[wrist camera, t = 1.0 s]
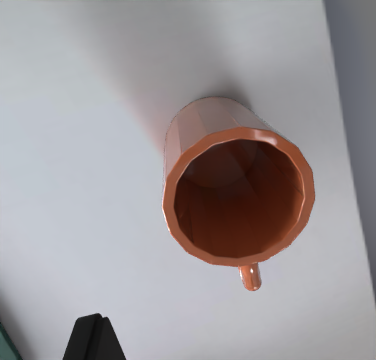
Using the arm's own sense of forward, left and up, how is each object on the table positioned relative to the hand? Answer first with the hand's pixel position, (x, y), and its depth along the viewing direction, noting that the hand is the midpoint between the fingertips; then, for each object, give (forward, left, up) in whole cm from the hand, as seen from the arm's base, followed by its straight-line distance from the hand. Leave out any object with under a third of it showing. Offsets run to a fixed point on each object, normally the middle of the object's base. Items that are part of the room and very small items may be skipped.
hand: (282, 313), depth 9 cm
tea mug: (+1, 0, -15) cm, 15 cm away
